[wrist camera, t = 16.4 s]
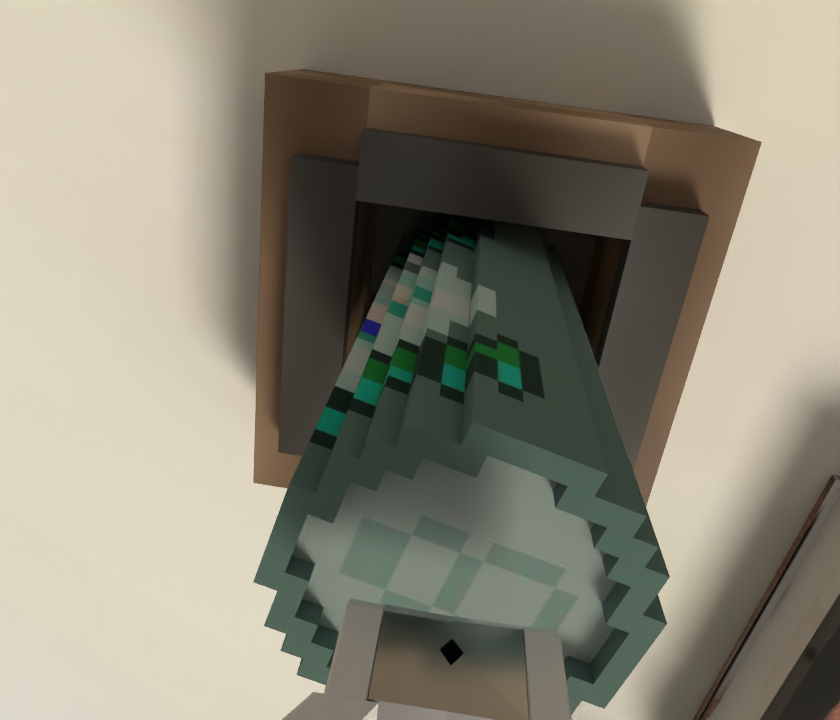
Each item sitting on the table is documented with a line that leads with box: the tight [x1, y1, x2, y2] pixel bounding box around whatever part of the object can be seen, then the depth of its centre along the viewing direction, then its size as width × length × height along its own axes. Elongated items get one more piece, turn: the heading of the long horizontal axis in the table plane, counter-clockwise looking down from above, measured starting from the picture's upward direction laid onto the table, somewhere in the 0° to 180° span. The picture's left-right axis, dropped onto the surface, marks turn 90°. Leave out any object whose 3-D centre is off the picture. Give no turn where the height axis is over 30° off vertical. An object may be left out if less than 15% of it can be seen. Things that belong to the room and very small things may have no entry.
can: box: [254, 213, 670, 715], centre depth 18 cm, size 6×6×15 cm
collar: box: [254, 69, 762, 506], centre depth 22 cm, size 13×13×5 cm
